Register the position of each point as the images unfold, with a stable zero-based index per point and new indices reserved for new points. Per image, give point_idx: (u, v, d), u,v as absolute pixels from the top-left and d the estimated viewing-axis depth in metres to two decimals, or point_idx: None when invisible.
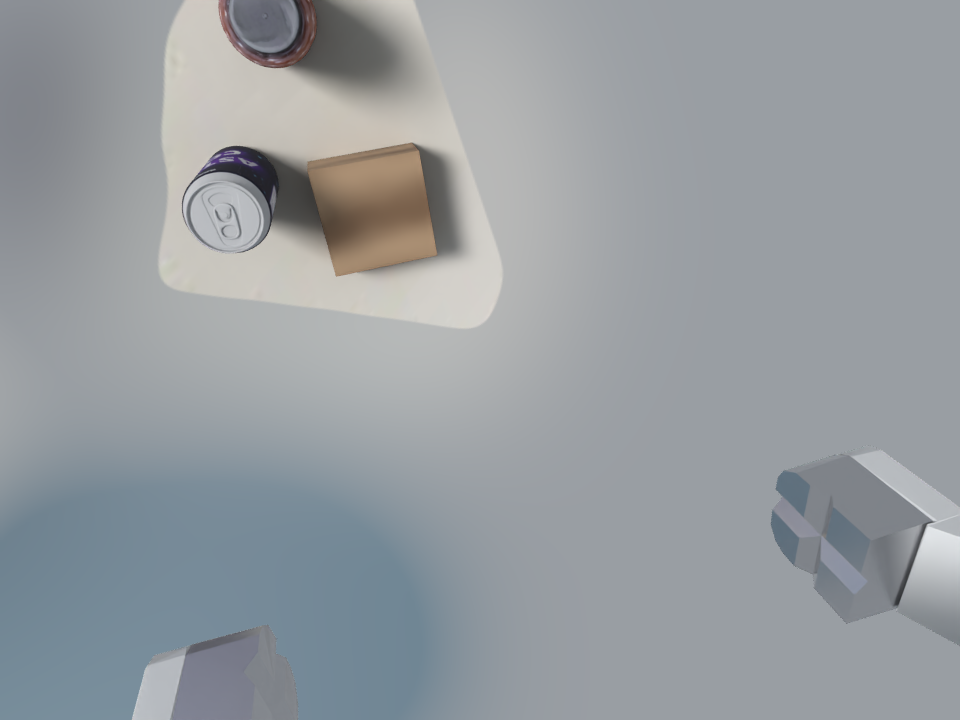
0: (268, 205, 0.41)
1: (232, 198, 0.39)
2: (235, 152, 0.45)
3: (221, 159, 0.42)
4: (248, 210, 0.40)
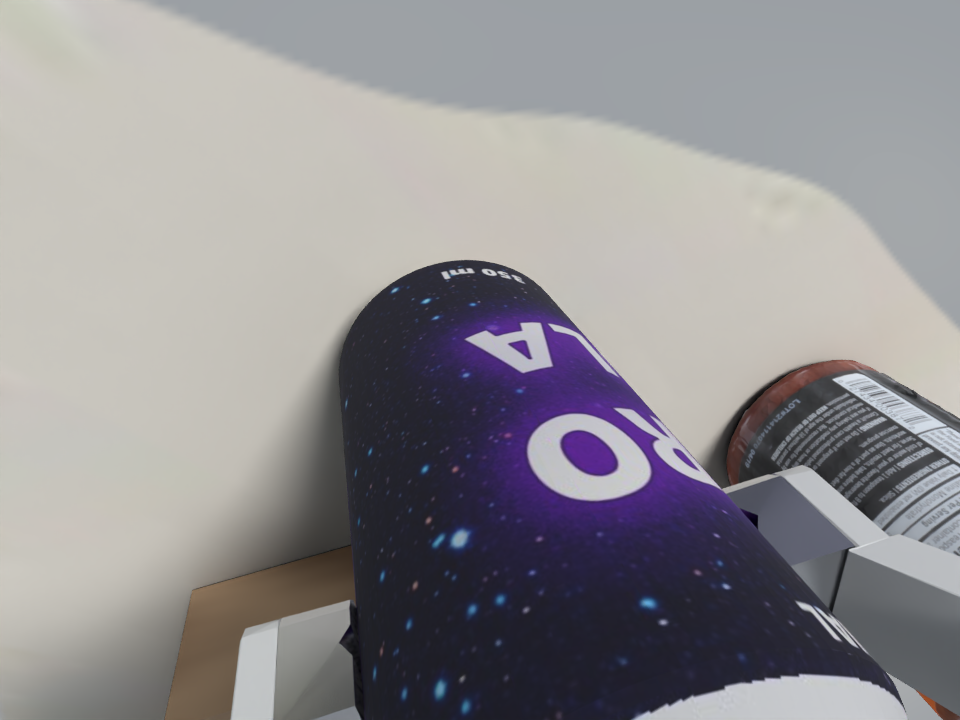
0: None
1: None
2: None
3: None
4: None
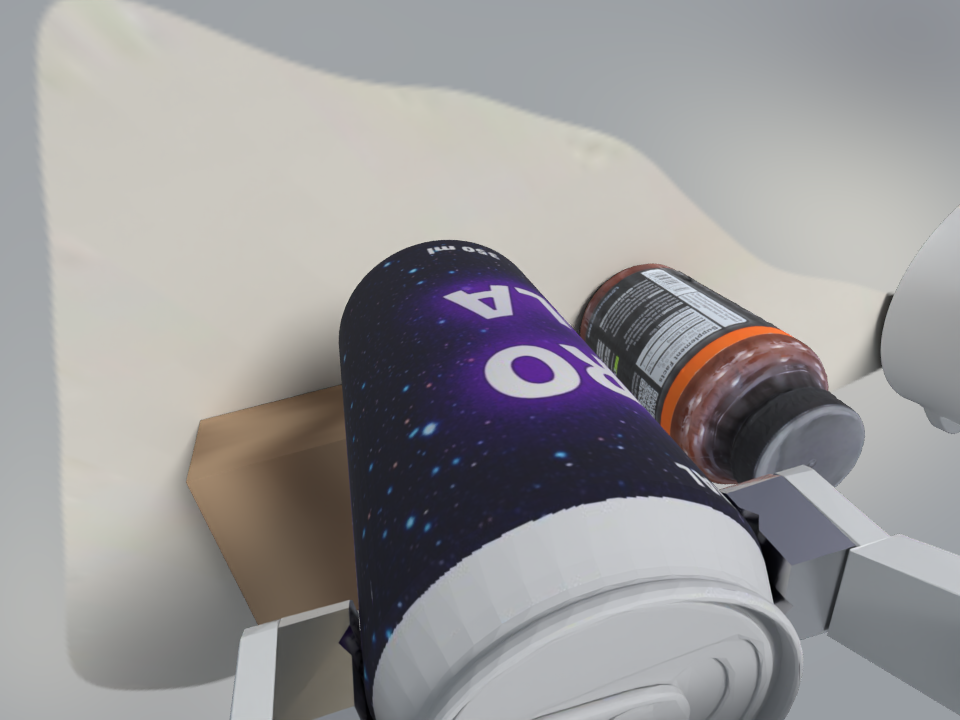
0: None
1: None
2: None
3: None
4: None
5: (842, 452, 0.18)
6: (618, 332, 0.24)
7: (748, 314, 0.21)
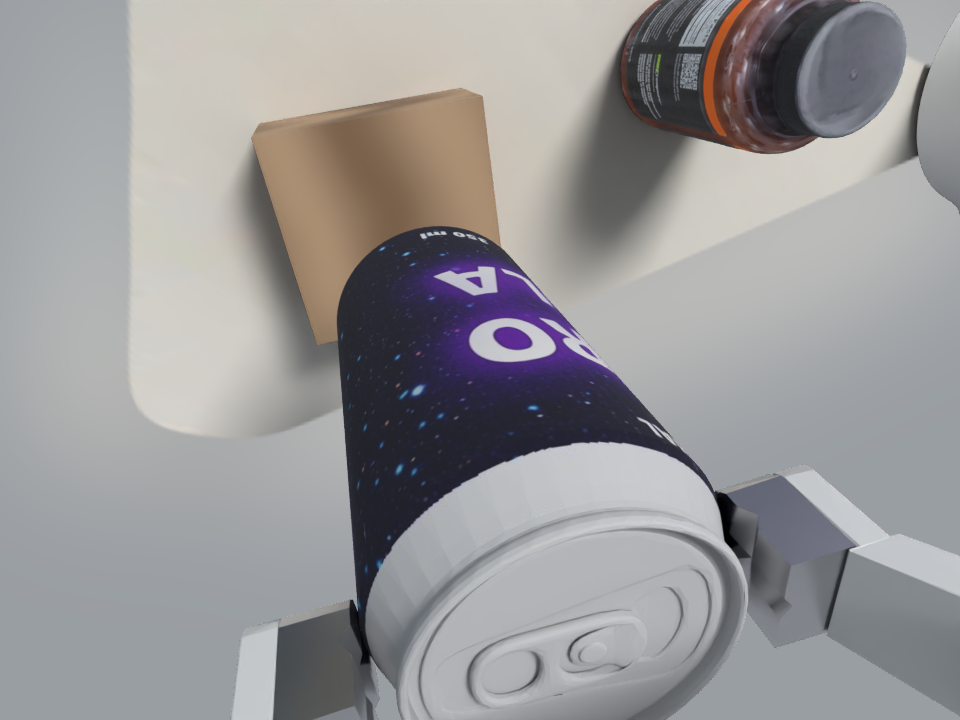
0: None
1: (648, 654, 0.09)
2: None
3: None
4: (594, 712, 0.09)
5: (884, 67, 0.19)
6: (660, 32, 0.25)
7: None
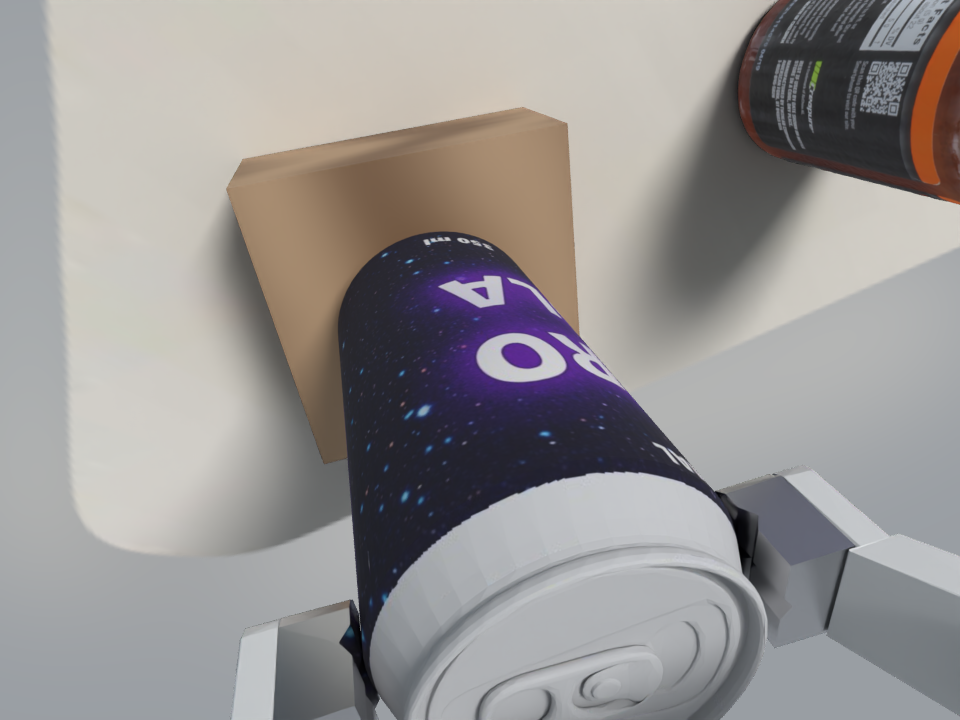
0: None
1: (662, 686, 0.08)
2: None
3: None
4: None
5: None
6: (818, 30, 0.17)
7: None
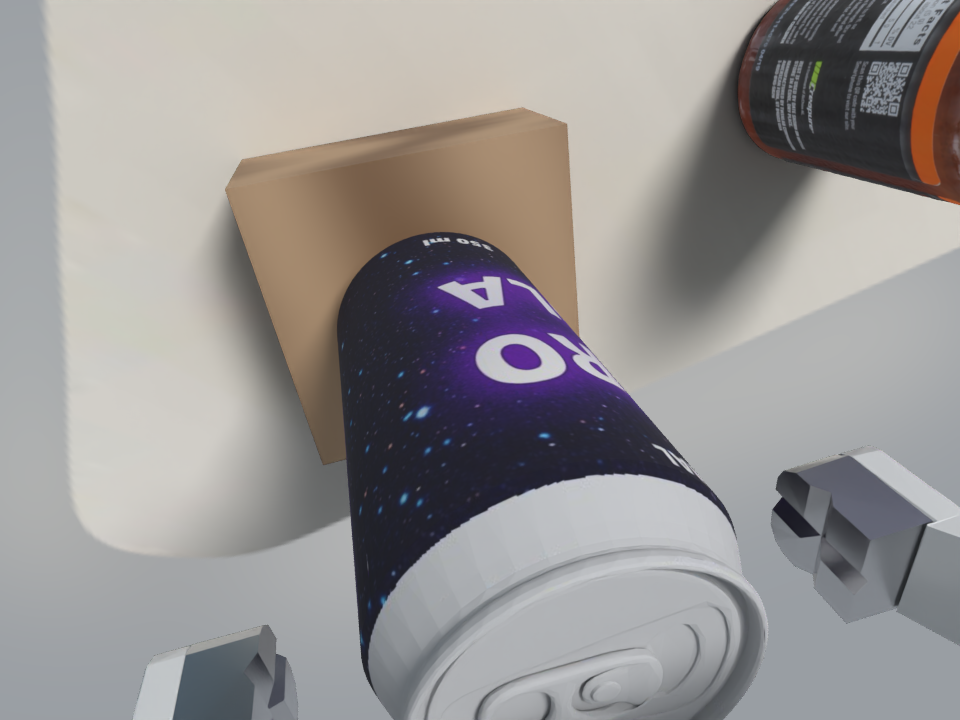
0: None
1: (662, 689, 0.08)
2: None
3: None
4: None
5: None
6: (818, 30, 0.17)
7: None
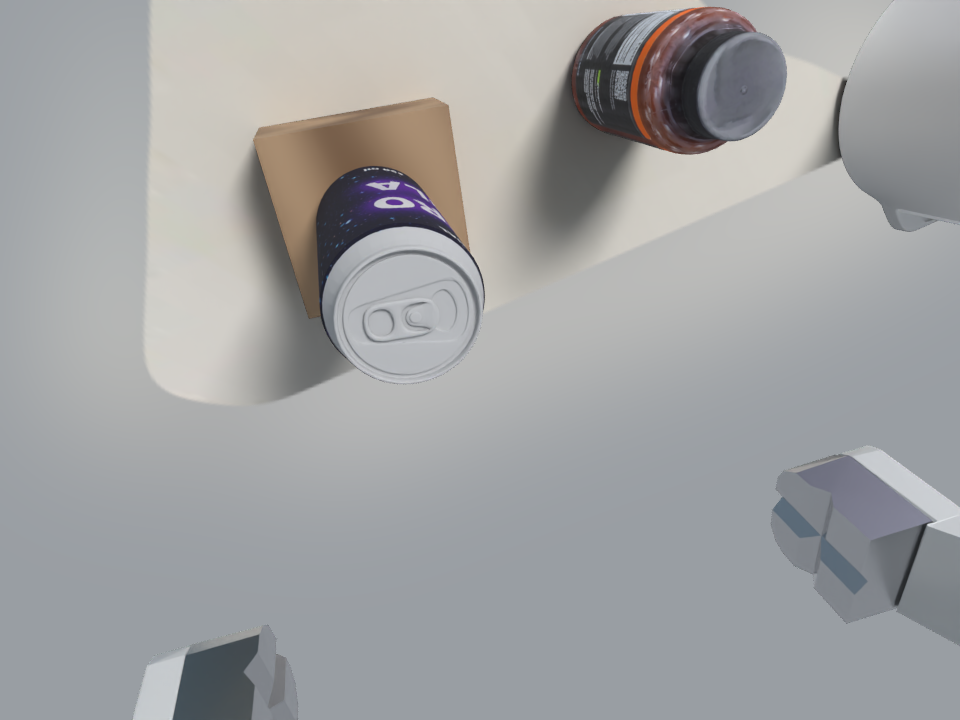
0: None
1: (445, 329, 0.20)
2: None
3: None
4: (423, 357, 0.20)
5: (769, 83, 0.23)
6: (600, 51, 0.29)
7: None
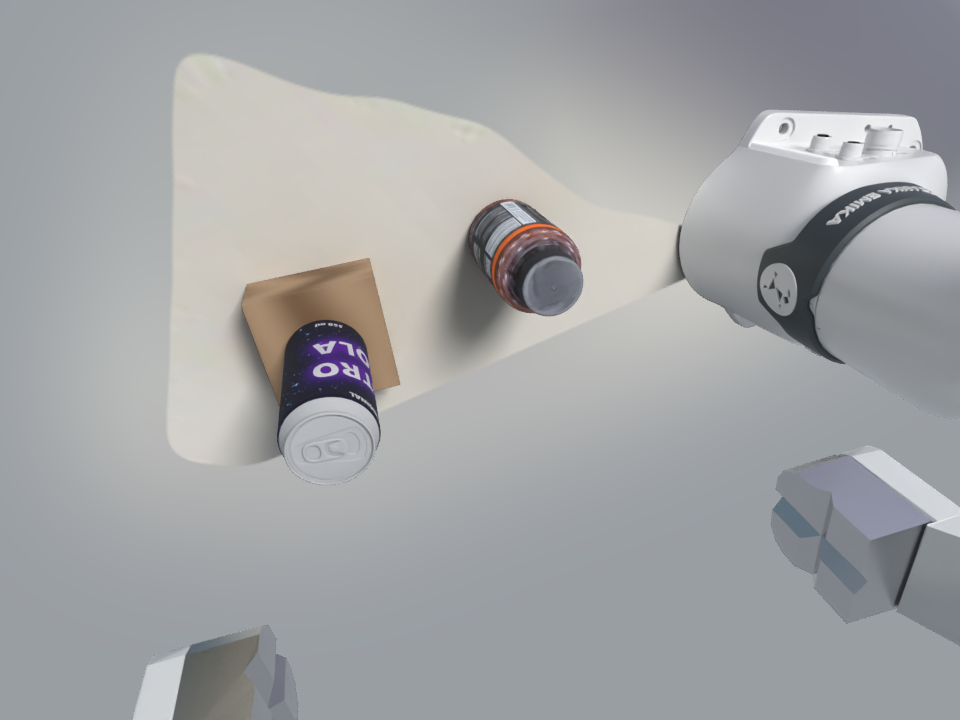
0: None
1: (353, 453, 0.33)
2: None
3: None
4: (340, 469, 0.33)
5: (570, 283, 0.36)
6: (481, 234, 0.42)
7: (541, 220, 0.39)
